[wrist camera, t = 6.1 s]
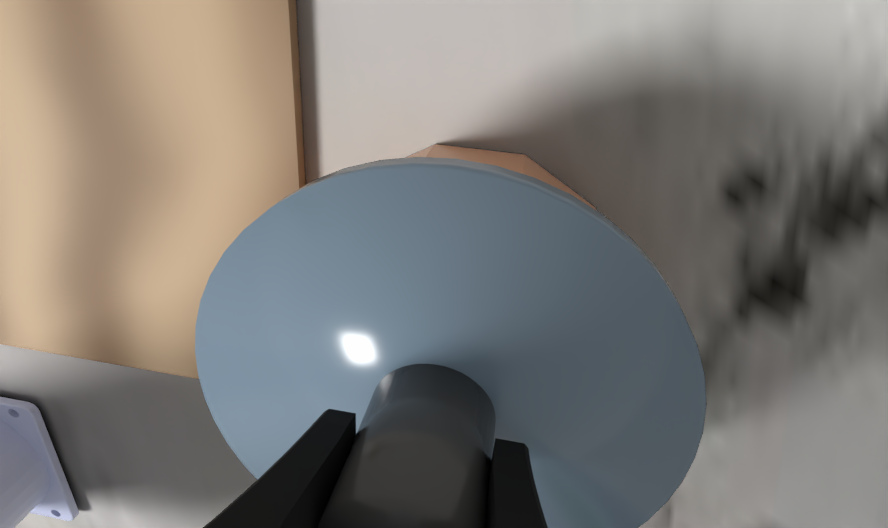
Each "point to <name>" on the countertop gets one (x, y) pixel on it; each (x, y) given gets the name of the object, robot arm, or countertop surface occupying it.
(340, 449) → the robot arm
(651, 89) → the countertop surface
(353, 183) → the lid
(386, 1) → the countertop surface
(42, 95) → the oak board
